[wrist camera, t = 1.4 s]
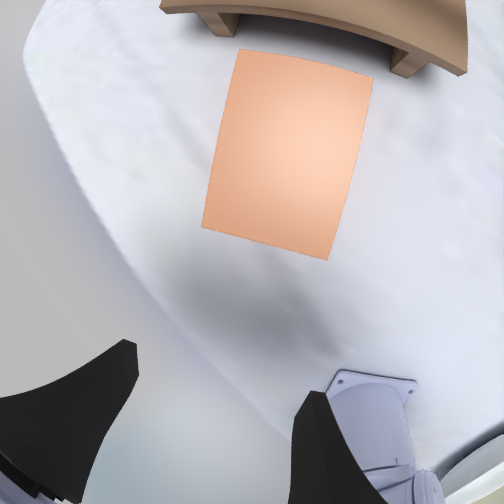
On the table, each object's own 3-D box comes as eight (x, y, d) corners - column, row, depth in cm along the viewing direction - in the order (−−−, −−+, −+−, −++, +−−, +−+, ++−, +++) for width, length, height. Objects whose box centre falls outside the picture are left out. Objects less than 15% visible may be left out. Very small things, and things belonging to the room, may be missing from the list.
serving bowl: (401, 482, 26) (405, 517, 20) (514, 396, 19) (533, 432, 12) (460, 485, 26) (465, 510, 20) (544, 417, 19) (556, 441, 12)
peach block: (324, 243, 17) (327, 260, 15) (217, 215, 18) (201, 227, 15) (362, 90, 14) (373, 78, 11) (249, 65, 15) (239, 49, 12)
